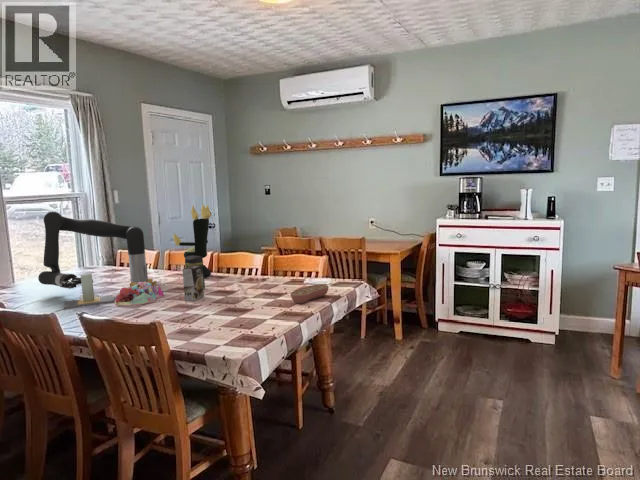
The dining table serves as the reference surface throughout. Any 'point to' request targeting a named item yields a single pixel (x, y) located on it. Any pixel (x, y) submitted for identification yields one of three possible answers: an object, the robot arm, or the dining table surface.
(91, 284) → the grey-green rectangular block
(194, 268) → the coffee box
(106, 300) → the t board
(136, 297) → the candy landscape model
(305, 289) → the brown planter trough
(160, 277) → the dining table surface
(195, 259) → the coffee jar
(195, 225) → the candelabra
